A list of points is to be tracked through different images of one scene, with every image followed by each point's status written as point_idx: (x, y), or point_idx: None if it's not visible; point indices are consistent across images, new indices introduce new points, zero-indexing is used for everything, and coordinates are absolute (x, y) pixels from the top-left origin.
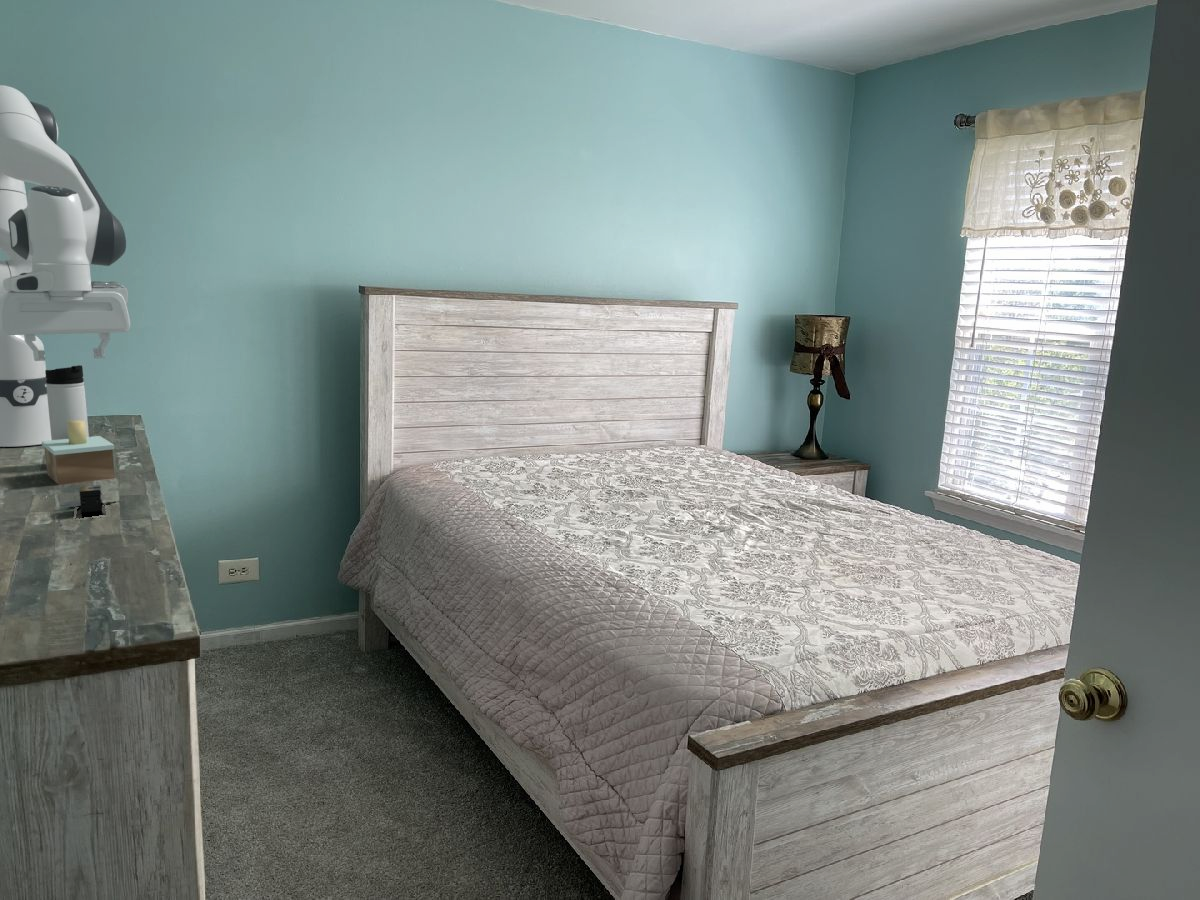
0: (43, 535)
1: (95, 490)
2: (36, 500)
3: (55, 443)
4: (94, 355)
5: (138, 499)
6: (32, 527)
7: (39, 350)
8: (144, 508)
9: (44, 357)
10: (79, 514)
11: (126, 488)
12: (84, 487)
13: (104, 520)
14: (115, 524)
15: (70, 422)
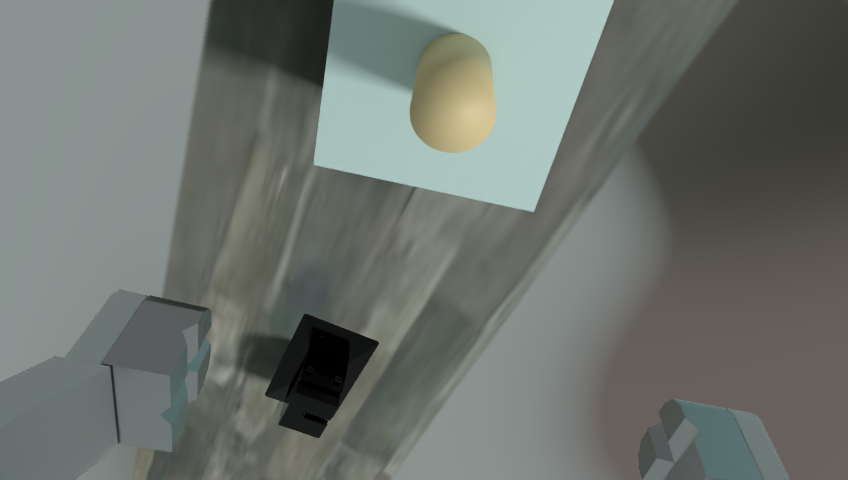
0: (196, 434)
1: (309, 434)
2: (248, 197)
3: (375, 8)
4: (667, 434)
5: (444, 349)
6: None
7: (131, 404)
8: (413, 410)
9: (193, 394)
10: (286, 382)
11: (487, 240)
12: (299, 404)
13: None
14: (319, 455)
15: (417, 127)
